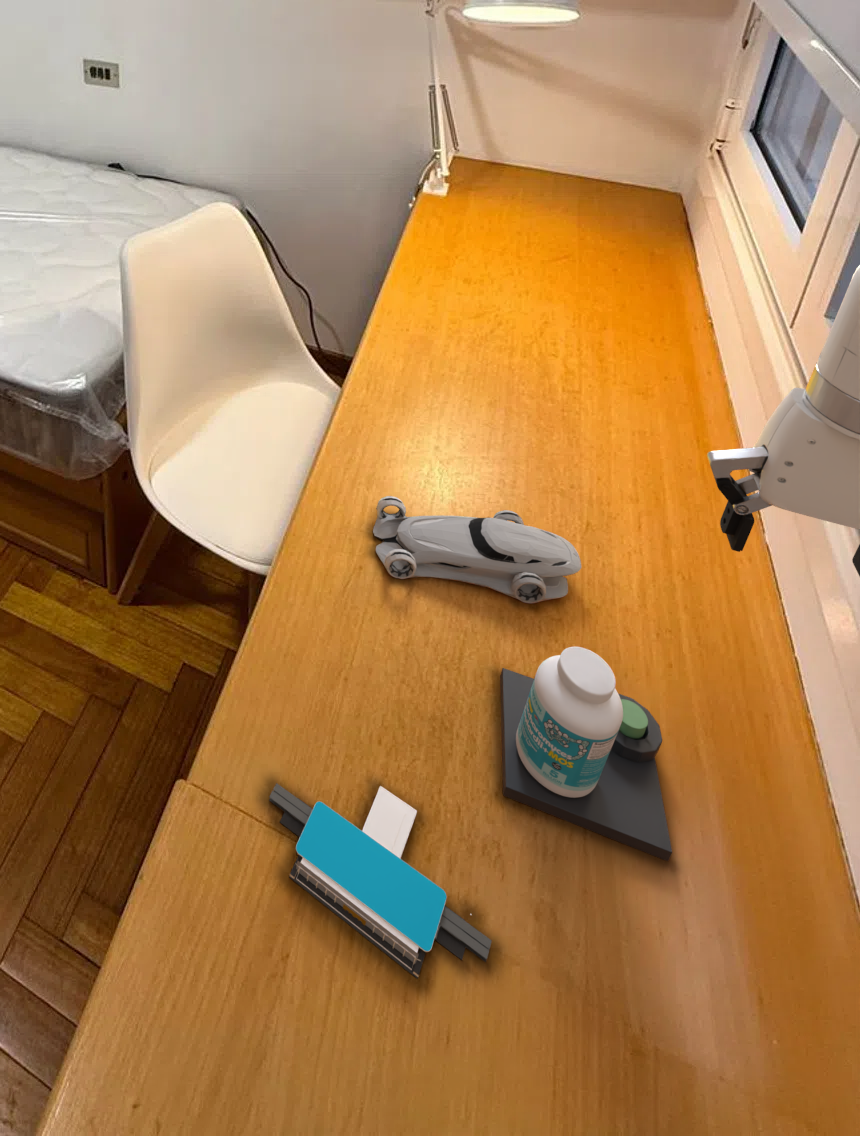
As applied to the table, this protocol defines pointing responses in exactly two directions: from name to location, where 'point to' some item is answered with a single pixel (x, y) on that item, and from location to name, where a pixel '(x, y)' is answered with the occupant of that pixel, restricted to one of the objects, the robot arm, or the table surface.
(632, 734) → the button
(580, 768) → the pill bottle
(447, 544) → the car model
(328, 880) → the blue paper trimmer
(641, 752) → the scale
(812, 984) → the table surface
